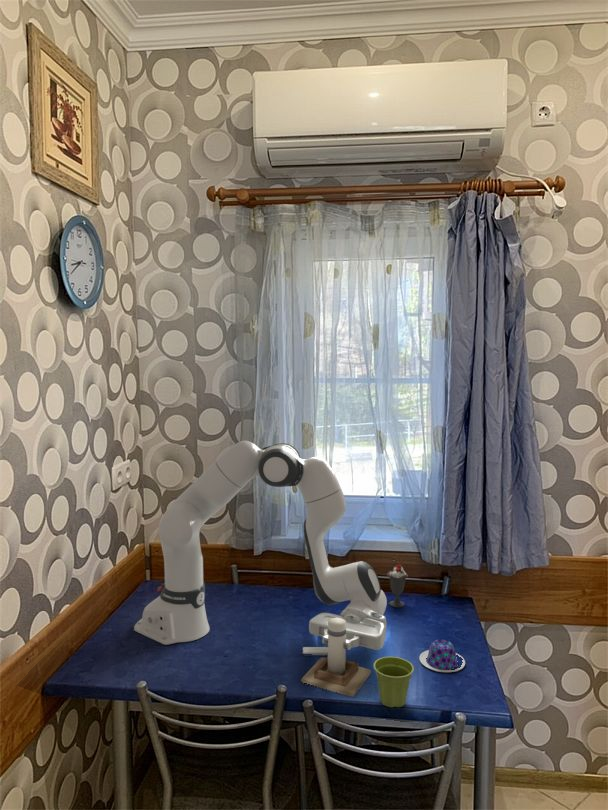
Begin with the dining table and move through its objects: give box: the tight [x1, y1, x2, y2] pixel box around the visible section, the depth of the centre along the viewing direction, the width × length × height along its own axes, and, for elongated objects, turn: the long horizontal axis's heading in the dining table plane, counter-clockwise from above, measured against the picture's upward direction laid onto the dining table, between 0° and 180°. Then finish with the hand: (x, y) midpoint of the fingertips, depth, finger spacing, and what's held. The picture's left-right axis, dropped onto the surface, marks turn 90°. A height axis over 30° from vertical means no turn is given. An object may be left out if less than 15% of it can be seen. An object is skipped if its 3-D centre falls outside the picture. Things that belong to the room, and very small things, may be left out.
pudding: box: [418, 639, 466, 673], centre depth 166 cm, size 12×12×5 cm
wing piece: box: [302, 646, 328, 656], centre depth 171 cm, size 10×3×1 cm, turn 91°
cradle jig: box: [300, 655, 372, 698], centre depth 158 cm, size 14×12×3 cm
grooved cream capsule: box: [327, 618, 347, 675], centre depth 157 cm, size 5×5×13 cm
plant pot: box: [373, 656, 415, 708], centre depth 147 cm, size 9×9×9 cm
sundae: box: [386, 561, 409, 608], centre depth 200 cm, size 7×7×15 cm
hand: (335, 643), depth 156 cm, fingers closed on grooved cream capsule, 4 cm apart
